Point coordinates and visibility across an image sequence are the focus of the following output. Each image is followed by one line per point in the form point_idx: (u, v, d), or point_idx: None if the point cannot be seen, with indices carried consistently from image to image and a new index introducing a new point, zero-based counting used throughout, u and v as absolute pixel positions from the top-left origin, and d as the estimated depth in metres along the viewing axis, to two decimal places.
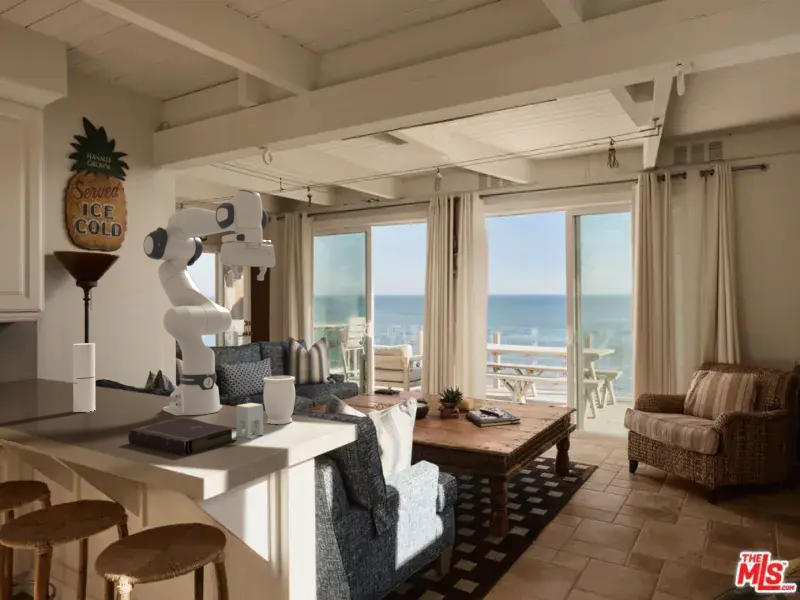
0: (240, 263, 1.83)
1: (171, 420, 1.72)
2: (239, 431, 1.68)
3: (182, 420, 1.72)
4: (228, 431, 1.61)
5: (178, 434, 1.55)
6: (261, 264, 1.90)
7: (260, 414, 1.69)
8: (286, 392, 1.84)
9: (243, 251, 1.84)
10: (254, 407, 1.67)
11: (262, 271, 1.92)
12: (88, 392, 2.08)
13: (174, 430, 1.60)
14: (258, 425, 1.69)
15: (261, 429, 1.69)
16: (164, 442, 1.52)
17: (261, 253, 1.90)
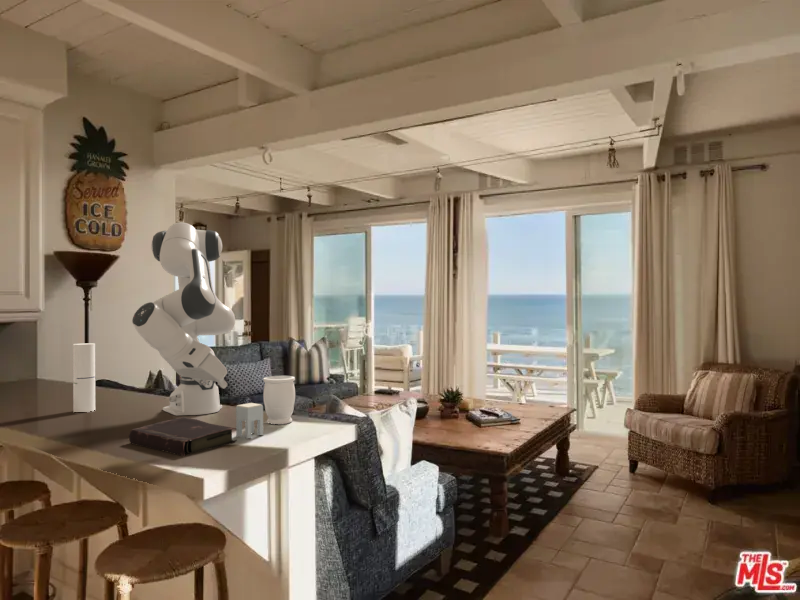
0: None
1: (172, 420, 1.72)
2: (239, 431, 1.68)
3: (183, 420, 1.72)
4: (228, 431, 1.61)
5: (178, 434, 1.55)
6: None
7: (260, 414, 1.69)
8: (286, 392, 1.84)
9: None
10: (254, 407, 1.67)
11: None
12: (88, 392, 2.08)
13: (174, 430, 1.60)
14: (258, 425, 1.69)
15: (261, 429, 1.69)
16: (164, 442, 1.52)
17: None
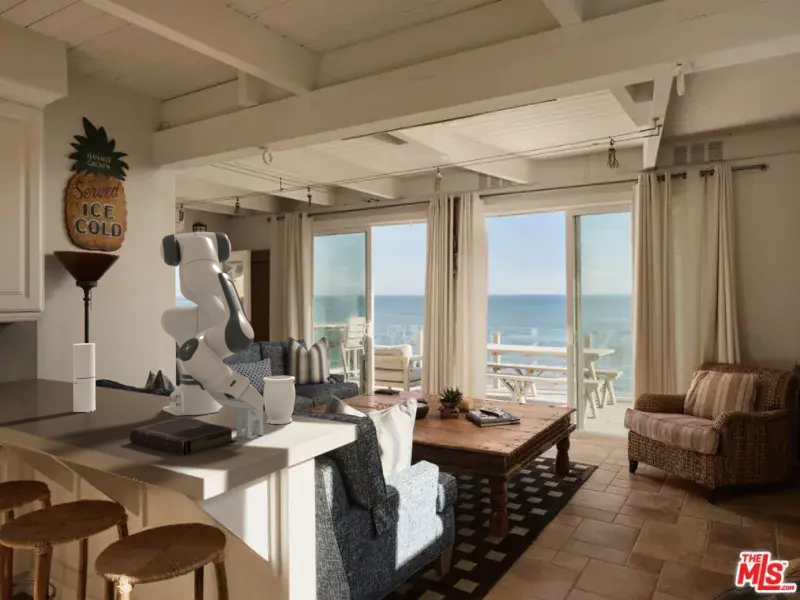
0: None
1: (173, 420, 1.72)
2: (239, 431, 1.68)
3: (184, 420, 1.73)
4: (228, 431, 1.60)
5: (177, 434, 1.55)
6: None
7: (260, 414, 1.69)
8: (286, 392, 1.84)
9: None
10: None
11: None
12: (88, 392, 2.08)
13: (174, 430, 1.60)
14: (258, 425, 1.69)
15: (261, 429, 1.69)
16: (163, 442, 1.52)
17: None
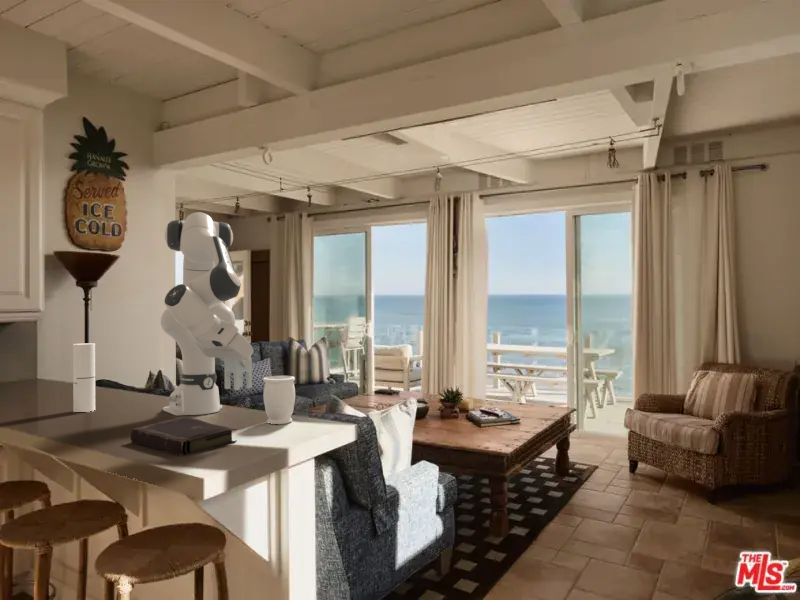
0: None
1: (174, 420, 1.73)
2: (227, 383, 1.66)
3: (185, 420, 1.73)
4: (228, 432, 1.60)
5: (177, 434, 1.55)
6: None
7: (249, 366, 1.67)
8: (286, 392, 1.84)
9: None
10: None
11: None
12: (88, 392, 2.08)
13: (174, 430, 1.60)
14: (247, 377, 1.67)
15: (250, 381, 1.67)
16: (163, 442, 1.52)
17: None
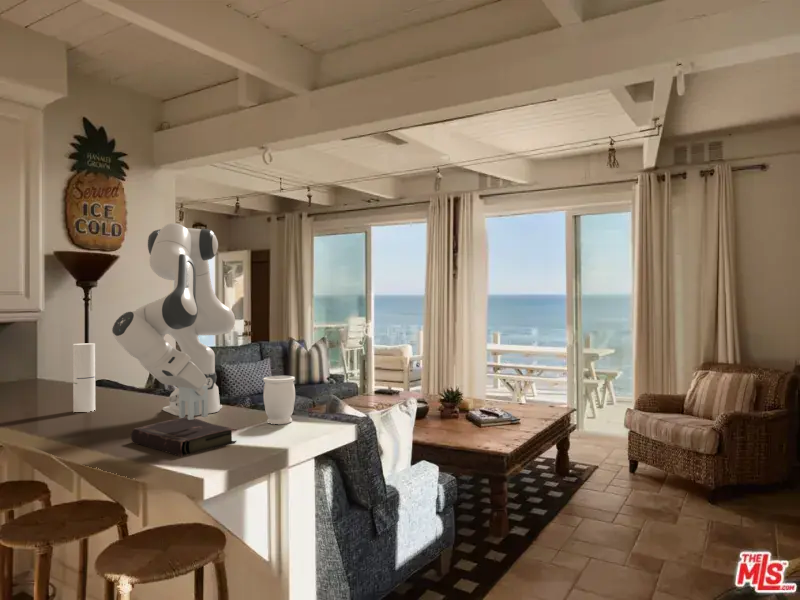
0: None
1: (175, 419, 1.73)
2: (182, 412, 1.60)
3: (186, 420, 1.73)
4: (228, 432, 1.60)
5: (177, 434, 1.55)
6: None
7: (204, 394, 1.61)
8: (286, 392, 1.84)
9: None
10: None
11: None
12: (88, 392, 2.08)
13: (175, 430, 1.60)
14: (202, 406, 1.61)
15: (205, 410, 1.61)
16: (163, 442, 1.52)
17: None
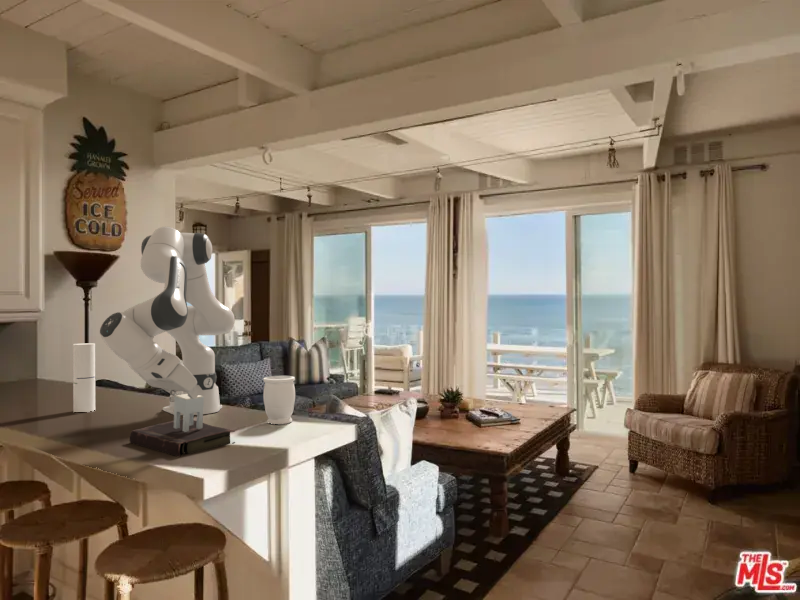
0: None
1: None
2: (177, 422, 1.60)
3: None
4: (226, 433, 1.60)
5: (175, 436, 1.55)
6: None
7: (200, 406, 1.61)
8: (286, 392, 1.84)
9: None
10: (194, 399, 1.59)
11: None
12: (88, 392, 2.08)
13: (173, 432, 1.60)
14: (197, 417, 1.61)
15: (200, 421, 1.61)
16: (161, 444, 1.52)
17: None
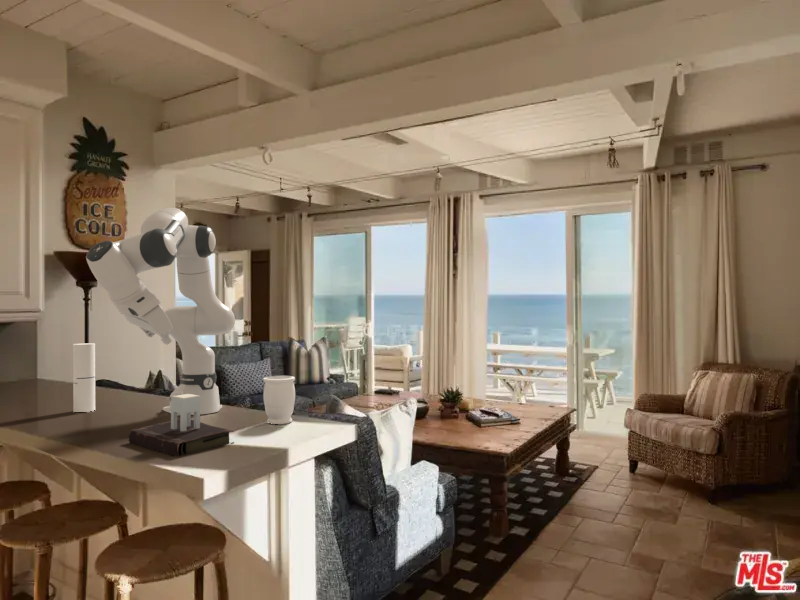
0: None
1: None
2: (174, 423, 1.60)
3: None
4: (225, 433, 1.60)
5: (174, 436, 1.55)
6: None
7: (197, 405, 1.61)
8: (286, 392, 1.84)
9: None
10: (190, 398, 1.60)
11: None
12: (88, 392, 2.08)
13: (172, 431, 1.59)
14: (195, 417, 1.61)
15: (198, 421, 1.62)
16: (160, 444, 1.52)
17: None
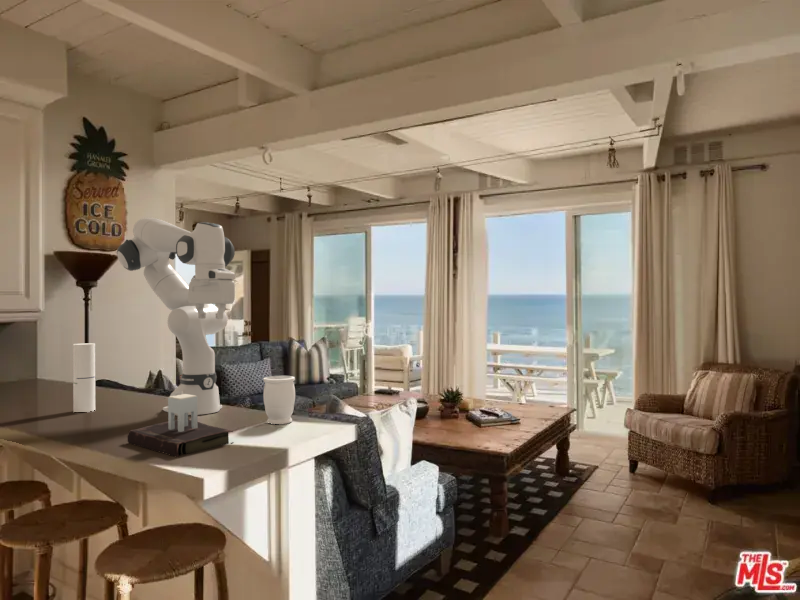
0: None
1: None
2: (171, 424, 1.60)
3: None
4: (224, 434, 1.60)
5: (174, 436, 1.55)
6: None
7: (194, 406, 1.61)
8: (286, 392, 1.84)
9: None
10: (187, 398, 1.59)
11: (200, 308, 1.78)
12: (88, 392, 2.08)
13: (171, 432, 1.59)
14: (192, 417, 1.61)
15: (195, 421, 1.61)
16: (159, 444, 1.52)
17: None
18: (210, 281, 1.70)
